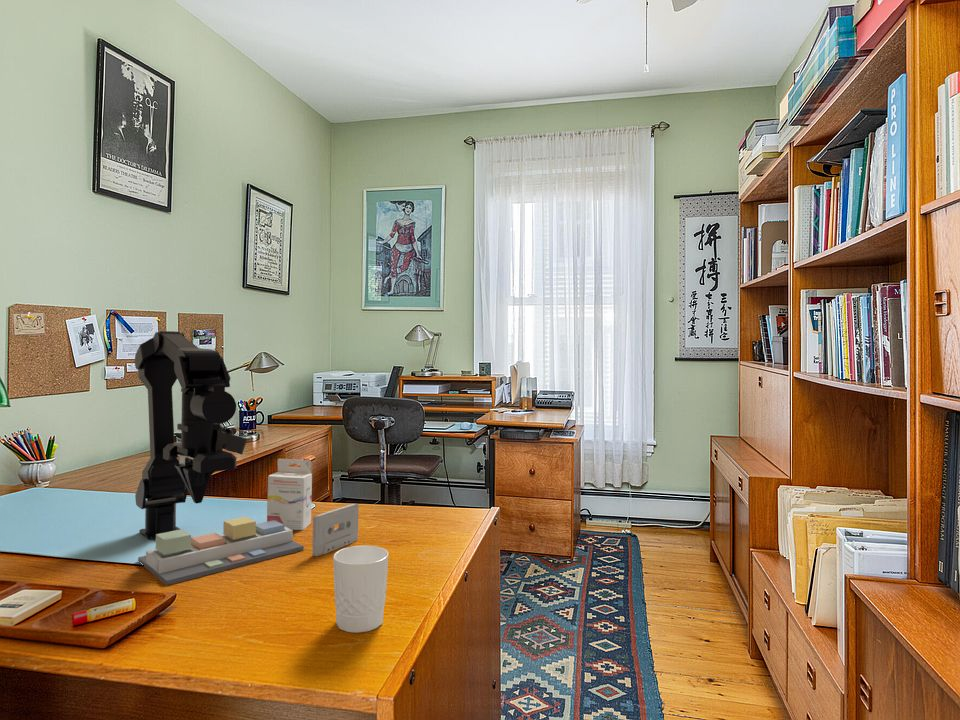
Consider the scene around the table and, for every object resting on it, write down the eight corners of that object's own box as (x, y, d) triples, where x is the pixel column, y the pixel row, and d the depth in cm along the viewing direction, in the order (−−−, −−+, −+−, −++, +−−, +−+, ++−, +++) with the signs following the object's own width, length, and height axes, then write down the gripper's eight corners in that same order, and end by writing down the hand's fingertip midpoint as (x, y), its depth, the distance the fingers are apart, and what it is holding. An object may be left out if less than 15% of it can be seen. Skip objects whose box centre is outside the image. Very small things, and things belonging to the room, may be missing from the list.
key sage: (155, 548, 104) (155, 534, 104) (181, 543, 107) (181, 529, 107) (164, 555, 101) (164, 540, 100) (190, 549, 104) (191, 534, 104)
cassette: (317, 557, 110) (317, 517, 110) (310, 555, 111) (310, 516, 111) (359, 540, 121) (360, 503, 121) (353, 538, 122) (353, 502, 122)
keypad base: (138, 561, 106) (138, 545, 106) (267, 532, 124) (267, 518, 124) (166, 585, 96) (166, 567, 96) (303, 550, 114) (303, 534, 114)
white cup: (337, 610, 88) (338, 545, 88) (389, 609, 89) (390, 545, 89) (327, 636, 80) (329, 564, 80) (385, 634, 81) (386, 563, 81)
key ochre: (223, 534, 112) (223, 520, 112) (245, 529, 115) (245, 516, 115) (233, 539, 109) (233, 526, 109) (255, 534, 112) (255, 521, 112)
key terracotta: (190, 551, 108) (190, 537, 108) (214, 546, 111) (215, 532, 111) (200, 557, 105) (200, 543, 105) (224, 551, 108) (224, 538, 108)
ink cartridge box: (265, 528, 127) (266, 462, 127) (275, 522, 132) (276, 458, 132) (303, 530, 126) (304, 463, 126) (311, 524, 131) (313, 459, 131)
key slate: (253, 537, 117) (253, 524, 117) (273, 532, 120) (274, 520, 120) (263, 542, 114) (263, 529, 114) (284, 537, 117) (284, 524, 117)
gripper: (265, 419, 106) (263, 504, 106) (221, 411, 118) (220, 487, 119) (202, 424, 98) (201, 516, 98) (162, 415, 110) (161, 496, 111)
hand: (197, 502), depth 106 cm, fingers closed
